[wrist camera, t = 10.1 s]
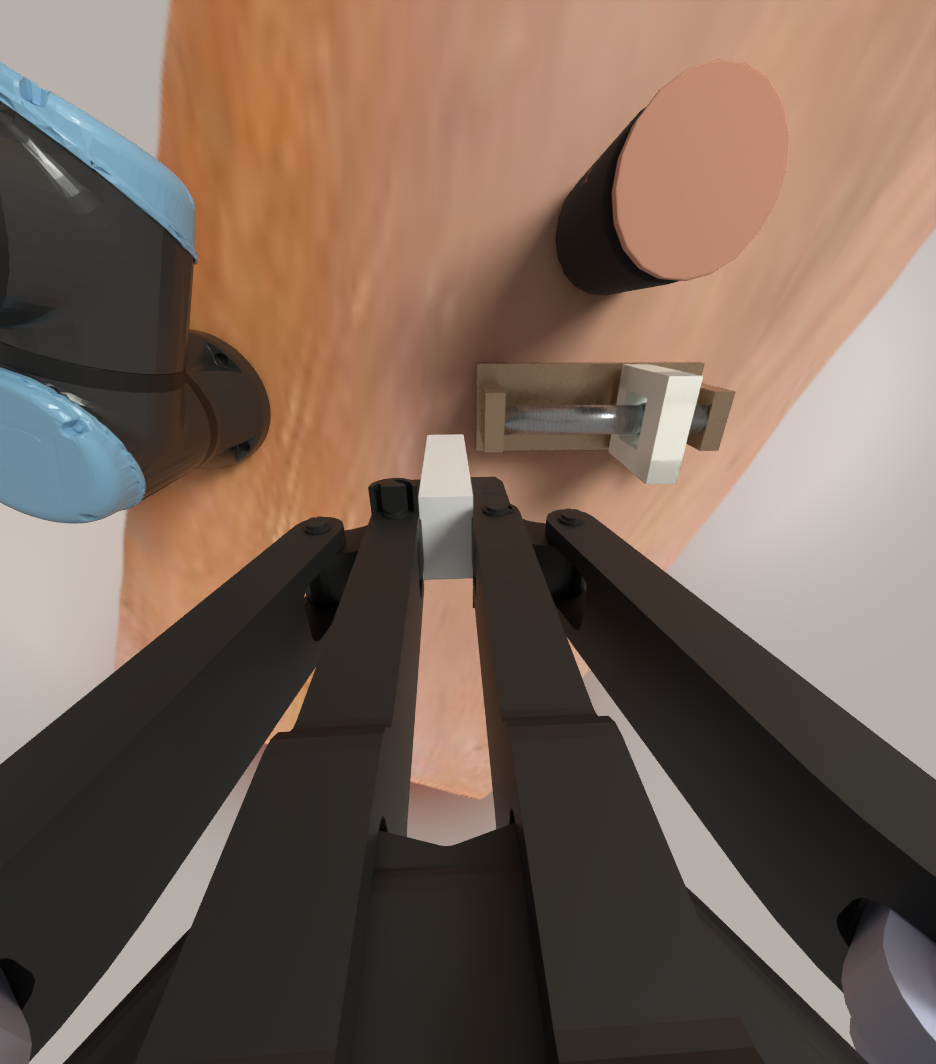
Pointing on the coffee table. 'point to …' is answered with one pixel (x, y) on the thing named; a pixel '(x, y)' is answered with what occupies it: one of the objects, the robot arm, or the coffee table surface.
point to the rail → (577, 407)
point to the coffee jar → (678, 184)
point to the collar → (656, 420)
